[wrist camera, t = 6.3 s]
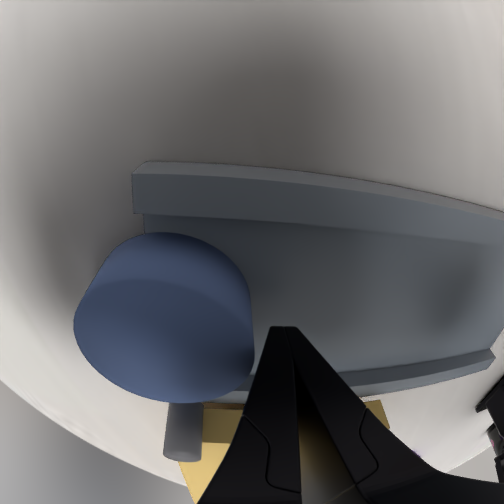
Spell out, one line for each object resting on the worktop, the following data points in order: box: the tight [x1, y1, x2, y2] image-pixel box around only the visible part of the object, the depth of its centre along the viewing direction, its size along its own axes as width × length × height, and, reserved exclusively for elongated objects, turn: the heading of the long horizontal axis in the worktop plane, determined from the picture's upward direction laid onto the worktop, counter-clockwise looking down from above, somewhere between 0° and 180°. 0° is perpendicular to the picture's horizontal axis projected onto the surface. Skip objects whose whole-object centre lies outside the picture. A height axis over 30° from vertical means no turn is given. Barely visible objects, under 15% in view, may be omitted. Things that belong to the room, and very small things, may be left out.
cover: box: [163, 400, 390, 504], centre depth 14 cm, size 17×9×2 cm, turn 174°
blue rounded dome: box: [74, 232, 255, 403], centre depth 8 cm, size 5×5×2 cm
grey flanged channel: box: [132, 162, 504, 404], centre depth 10 cm, size 18×9×1 cm, turn 84°
